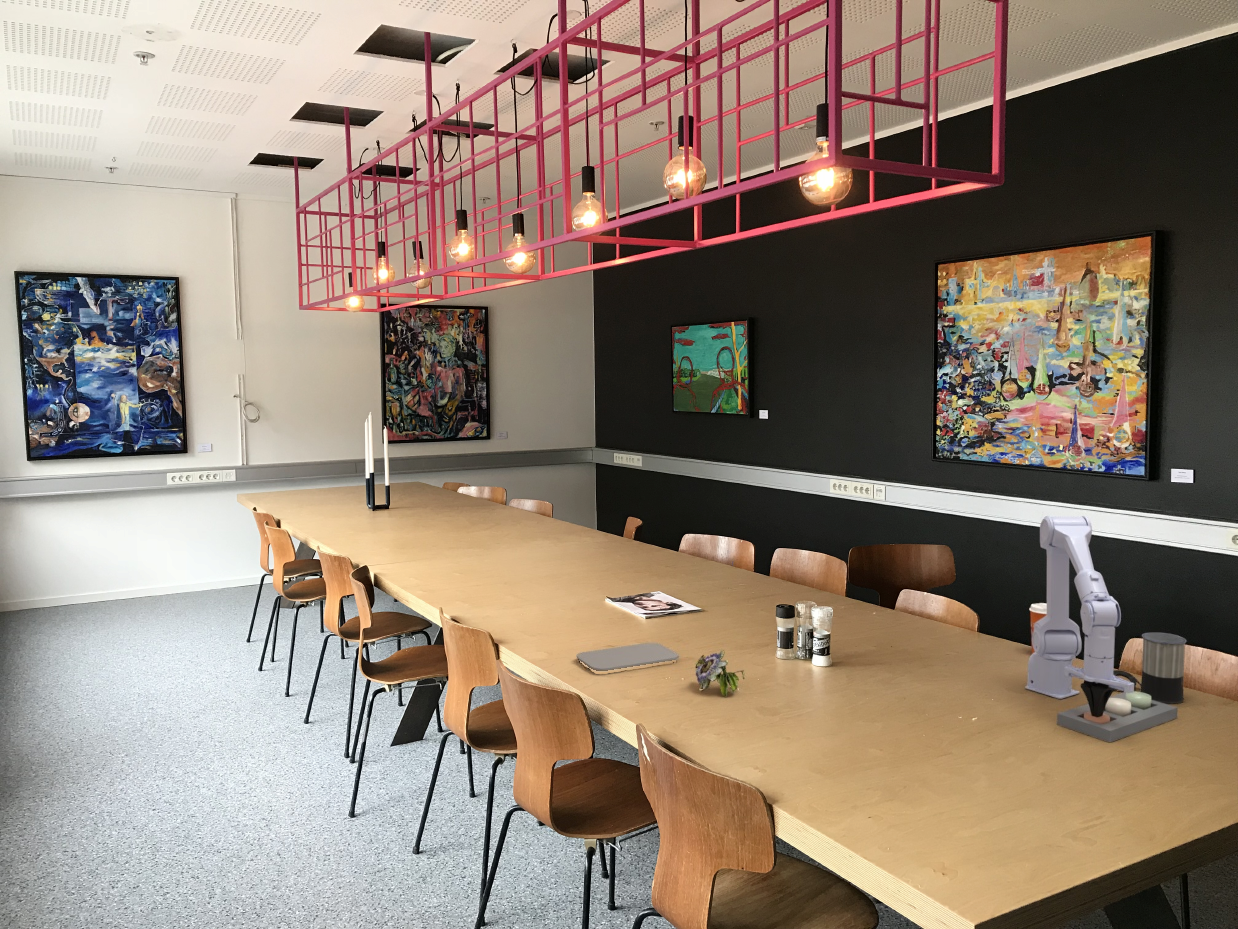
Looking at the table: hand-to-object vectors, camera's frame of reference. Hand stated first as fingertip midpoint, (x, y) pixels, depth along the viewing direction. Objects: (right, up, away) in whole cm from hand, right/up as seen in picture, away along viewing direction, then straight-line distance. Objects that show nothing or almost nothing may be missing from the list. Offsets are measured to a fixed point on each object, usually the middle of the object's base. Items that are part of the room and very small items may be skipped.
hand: (1096, 716), depth 196 cm
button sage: (+14, 0, +8) cm, 16 cm away
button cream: (+7, -1, +4) cm, 8 cm away
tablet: (-102, 0, +52) cm, 115 cm away
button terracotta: (0, -3, 0) cm, 3 cm away
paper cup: (+14, +2, +54) cm, 55 cm away
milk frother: (+23, -1, +22) cm, 32 cm away
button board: (+7, -2, +4) cm, 8 cm away
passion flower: (-80, -2, +29) cm, 85 cm away
